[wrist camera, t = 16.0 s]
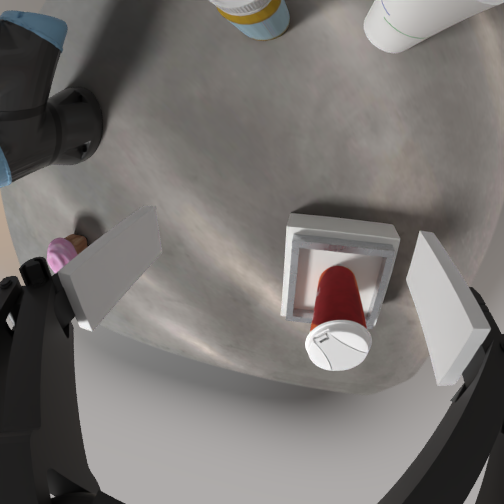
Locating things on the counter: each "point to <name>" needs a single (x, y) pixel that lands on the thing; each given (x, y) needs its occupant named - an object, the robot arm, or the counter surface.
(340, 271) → the paper cup
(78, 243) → the cupcake
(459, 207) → the counter surface
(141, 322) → the counter surface
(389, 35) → the cylindrical container
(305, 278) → the square tray
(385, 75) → the counter surface
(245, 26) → the bottle
